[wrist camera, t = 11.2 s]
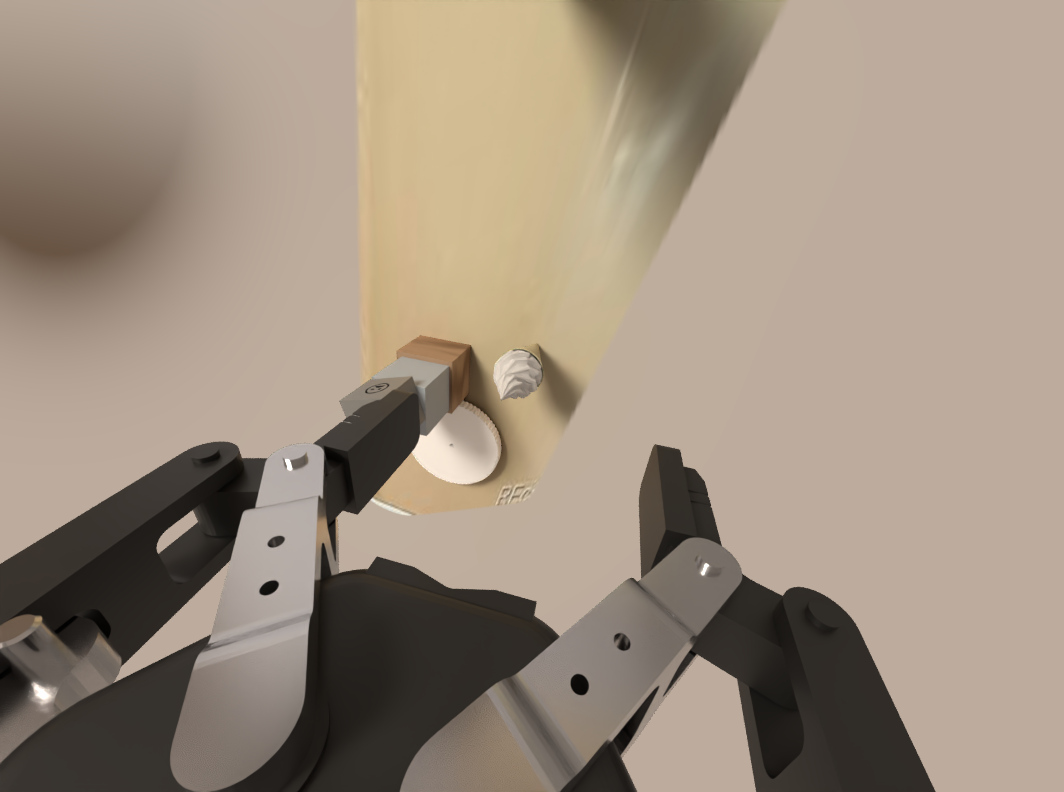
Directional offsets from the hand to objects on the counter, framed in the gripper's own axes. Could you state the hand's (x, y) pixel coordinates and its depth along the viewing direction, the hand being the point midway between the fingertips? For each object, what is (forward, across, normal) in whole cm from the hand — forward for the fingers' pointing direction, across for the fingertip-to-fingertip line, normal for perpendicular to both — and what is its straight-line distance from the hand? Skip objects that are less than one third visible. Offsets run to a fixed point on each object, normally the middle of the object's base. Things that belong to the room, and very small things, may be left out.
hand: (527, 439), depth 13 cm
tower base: (+33, +18, +14) cm, 40 cm away
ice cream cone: (+33, +6, +10) cm, 35 cm away
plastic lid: (+34, +16, +26) cm, 45 cm away
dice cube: (+22, +18, +14) cm, 31 cm away
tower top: (+27, +18, +15) cm, 36 cm away
